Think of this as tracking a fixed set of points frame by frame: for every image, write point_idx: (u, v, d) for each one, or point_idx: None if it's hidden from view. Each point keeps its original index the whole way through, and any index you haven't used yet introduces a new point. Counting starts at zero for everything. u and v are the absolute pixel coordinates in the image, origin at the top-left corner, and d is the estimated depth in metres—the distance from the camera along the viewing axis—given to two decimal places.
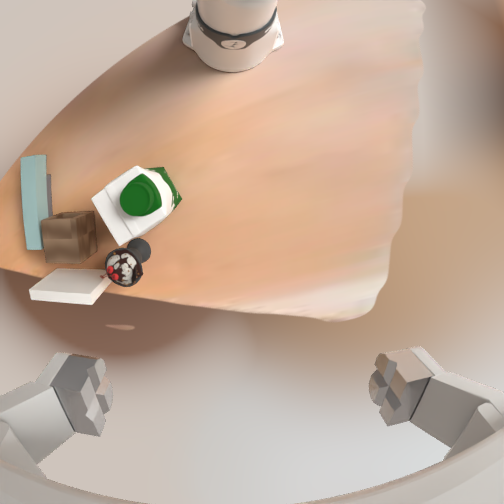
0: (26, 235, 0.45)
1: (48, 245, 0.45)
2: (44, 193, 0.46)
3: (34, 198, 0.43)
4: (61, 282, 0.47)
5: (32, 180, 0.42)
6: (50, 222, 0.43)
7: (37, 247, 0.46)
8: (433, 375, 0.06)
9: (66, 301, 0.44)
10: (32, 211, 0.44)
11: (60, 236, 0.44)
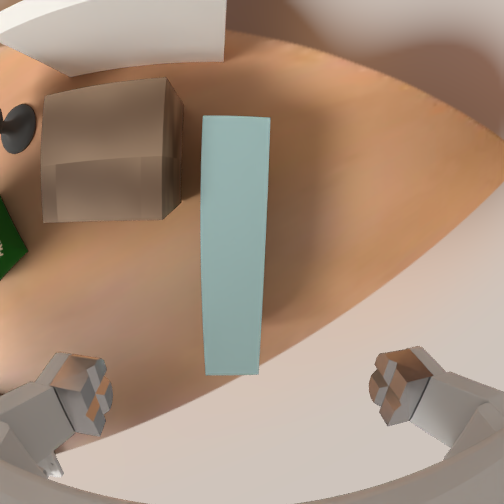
0: (262, 163, 0.17)
1: (143, 134, 0.14)
2: None
3: (211, 274, 0.19)
4: (130, 26, 0.13)
5: (213, 323, 0.20)
6: (122, 211, 0.15)
7: (219, 122, 0.16)
8: (433, 375, 0.06)
9: None
10: (219, 239, 0.18)
11: (90, 169, 0.15)
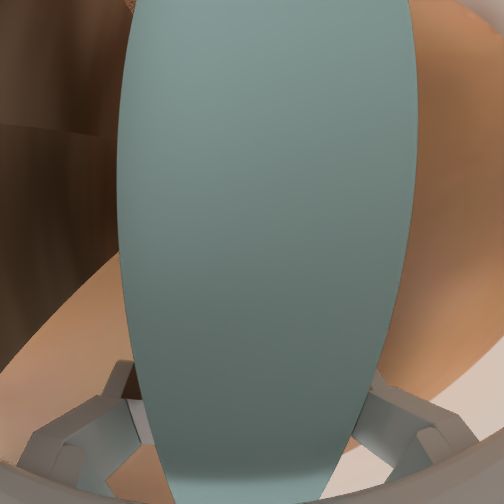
0: (397, 148, 0.04)
1: None
2: None
3: (192, 479, 0.05)
4: None
5: None
6: None
7: None
8: (372, 389, 0.06)
9: None
10: (212, 421, 0.05)
11: None
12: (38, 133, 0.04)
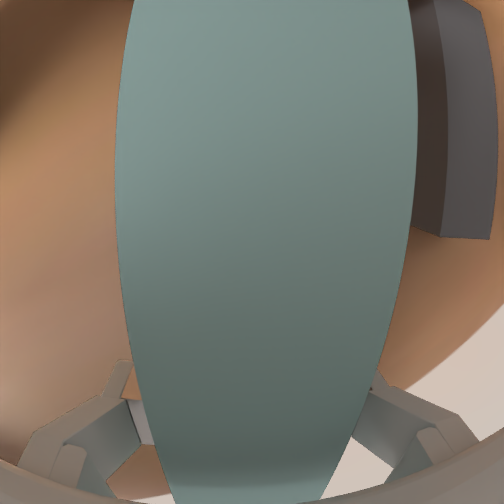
0: (396, 146, 0.04)
1: None
2: None
3: (193, 479, 0.05)
4: None
5: None
6: None
7: None
8: (372, 389, 0.06)
9: None
10: (211, 422, 0.05)
11: None
12: None
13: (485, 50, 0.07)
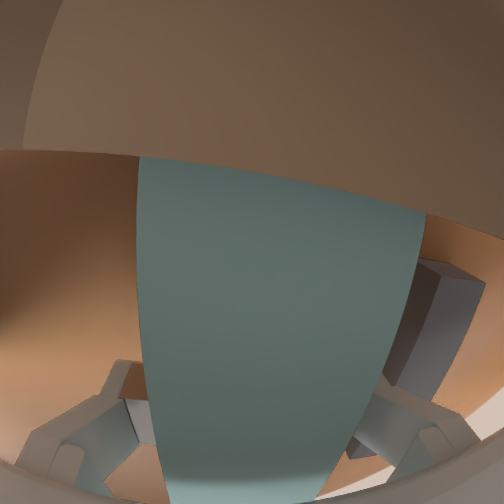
0: None
1: None
2: None
3: (190, 479, 0.05)
4: None
5: None
6: None
7: None
8: (374, 389, 0.06)
9: None
10: (216, 424, 0.05)
11: None
12: None
13: (463, 331, 0.10)
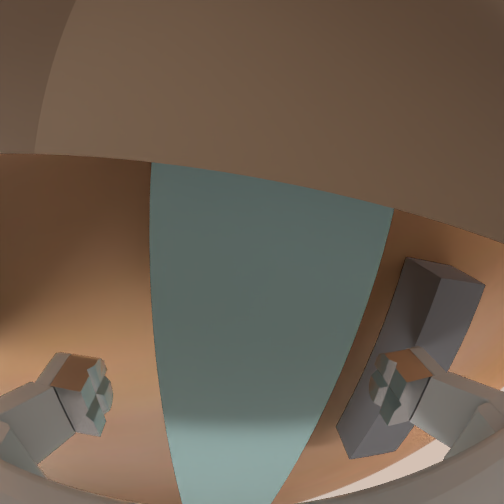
0: None
1: None
2: None
3: (190, 439, 0.07)
4: None
5: (195, 482, 0.08)
6: None
7: None
8: (433, 375, 0.06)
9: None
10: (211, 392, 0.06)
11: None
12: None
13: (462, 333, 0.10)
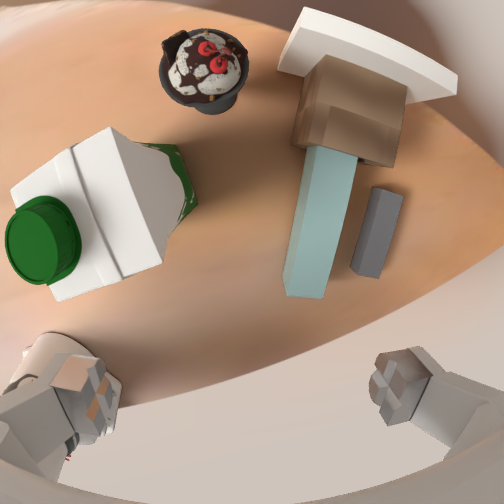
0: (354, 156, 0.25)
1: (393, 113, 0.22)
2: (296, 217, 0.31)
3: (309, 222, 0.28)
4: None
5: (302, 256, 0.29)
6: (371, 154, 0.23)
7: None
8: (433, 375, 0.06)
9: (372, 33, 0.16)
10: (319, 200, 0.27)
11: (356, 120, 0.22)
12: None
13: (396, 214, 0.30)
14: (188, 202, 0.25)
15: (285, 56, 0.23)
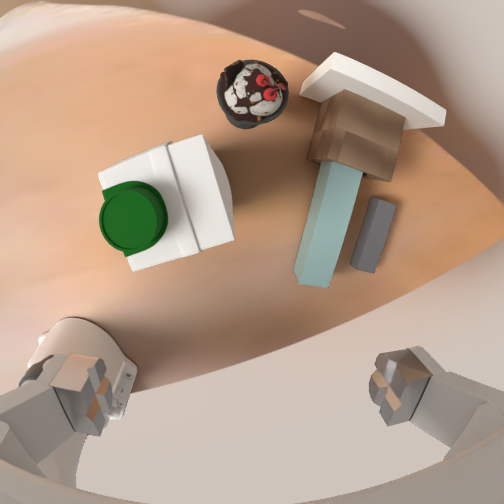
0: (360, 171, 0.32)
1: (392, 139, 0.28)
2: (309, 219, 0.37)
3: (321, 222, 0.34)
4: None
5: (314, 250, 0.35)
6: (375, 170, 0.29)
7: None
8: (433, 375, 0.06)
9: (383, 76, 0.23)
10: (331, 205, 0.33)
11: (365, 143, 0.28)
12: None
13: (390, 220, 0.37)
14: None
15: (310, 86, 0.29)
